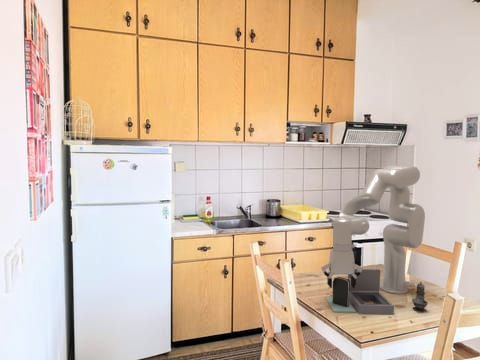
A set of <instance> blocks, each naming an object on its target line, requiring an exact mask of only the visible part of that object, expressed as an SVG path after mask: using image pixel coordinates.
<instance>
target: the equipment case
mask: <svg viewBox="0 0 480 360" xmlns="http://www.w3.org/2000/svg"><path fill="white" fill-rule="evenodd" d="M357 270H358V269H357V268H355V272H356V271H357ZM355 272H354V273H355ZM351 276H352V275H351V274H347V279H349V280H350V291H349V303H350V304H351V305H352V307H353V308H354V309H355V311H356V312H357V313H358V314H359V315H394V313H395V305H394V304H393V303H391V302H390V300H388V298H386V296H384V295H383V293H381V289H380V284H381V269H380V268H378V269H377V268H373V269H372V268H371V269H370V268H363V269H362V271H361V273H360V275H359V276H358V277H357V278H356V285H355V288H353V287H352V286H351ZM365 302H372V303H365Z"/></svg>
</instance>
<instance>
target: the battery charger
mask: <svg viewBox="0 0 480 360" xmlns="http://www.w3.org/2000/svg"><path fill="white" fill-rule="evenodd" d="M349 291H350V280H349V279H348V277H346V278H345V277H344V276H343V277H342V276H336V277H334V278H332V298H333V301H332V302H333V303H335V304H338V305H341V306H346V307H347V306H348V305H349V303H350V301H349Z"/></svg>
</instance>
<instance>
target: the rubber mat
mask: <svg viewBox="0 0 480 360" xmlns="http://www.w3.org/2000/svg"><path fill="white" fill-rule="evenodd" d="M325 300H326V302H327V303H328V305H329V307H330V308H331V310H332V312H333V313H346V314H347V313H349V314H352V313H353V314H355V313H356V312H357V310H356V309H355V308H354V306H353V305H352V304H351V303H350V302H349V305H348V306H347V307H346V306H341V305H338V304H335V303H333V302H332V301H333V297H325Z"/></svg>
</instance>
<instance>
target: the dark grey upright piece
mask: <svg viewBox="0 0 480 360" xmlns="http://www.w3.org/2000/svg"><path fill="white" fill-rule="evenodd" d="M425 294H426V292H425V285H424V284H423V283H422V281H420V282H419V283H417V284H416V291H415V298H413V299H411V301H412V304H413V307H412V310H413V311H415V312H418V313H427V312H428V311H427V309H426V307H427V306H428V304H429V303H428V301H427V300H426V299H425Z"/></svg>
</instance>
